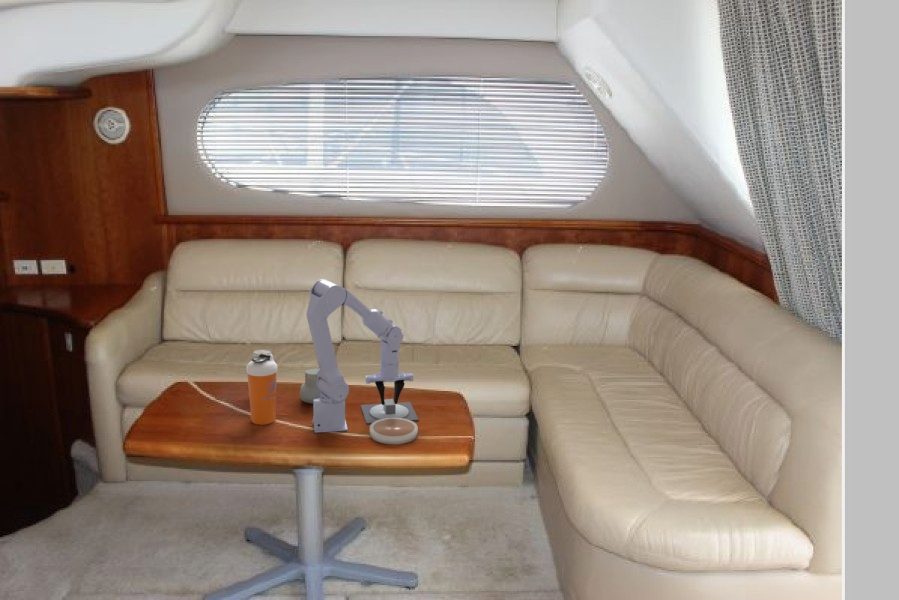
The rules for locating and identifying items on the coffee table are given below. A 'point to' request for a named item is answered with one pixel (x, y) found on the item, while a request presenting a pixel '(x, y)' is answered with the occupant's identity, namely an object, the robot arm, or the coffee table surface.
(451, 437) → the coffee table surface
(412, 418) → the mat
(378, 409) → the lid
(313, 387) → the air freshener
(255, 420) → the shaker bottle
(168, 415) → the coffee table surface
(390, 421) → the dish
